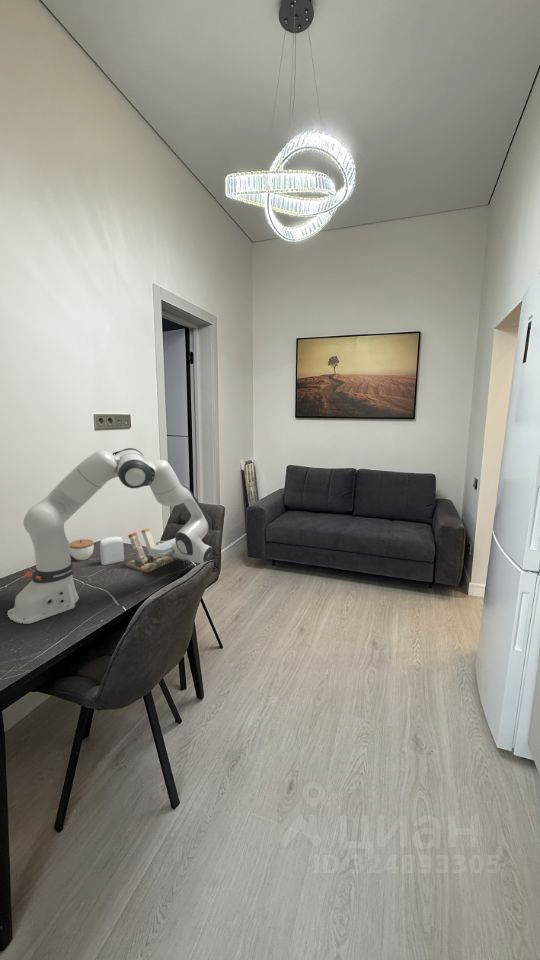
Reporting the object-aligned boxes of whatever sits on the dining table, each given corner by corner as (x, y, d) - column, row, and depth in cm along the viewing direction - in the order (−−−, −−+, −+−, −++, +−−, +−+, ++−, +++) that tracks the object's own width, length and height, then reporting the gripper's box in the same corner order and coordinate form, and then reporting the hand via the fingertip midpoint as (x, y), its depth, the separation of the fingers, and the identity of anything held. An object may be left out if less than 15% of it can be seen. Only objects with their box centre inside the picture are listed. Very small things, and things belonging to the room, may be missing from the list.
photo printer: (102, 566, 175) (100, 540, 172) (100, 563, 178) (98, 537, 176) (125, 561, 180) (123, 536, 178) (123, 558, 184) (121, 534, 182)
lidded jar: (75, 554, 189) (73, 536, 187) (97, 553, 190) (96, 535, 188) (66, 562, 178) (64, 543, 177) (90, 561, 179) (88, 543, 178)
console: (147, 572, 168) (145, 539, 165) (125, 566, 175) (123, 533, 172) (173, 561, 182) (172, 529, 179) (152, 555, 188) (151, 525, 186)
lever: (153, 559, 176) (143, 529, 177) (150, 560, 178) (140, 531, 178) (160, 556, 180) (150, 527, 181) (156, 557, 181) (146, 529, 182)
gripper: (164, 562, 162) (141, 556, 169) (195, 548, 180) (173, 543, 186) (163, 548, 161) (140, 543, 168) (195, 535, 179) (173, 531, 185)
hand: (158, 543), depth 177 cm, fingers closed
